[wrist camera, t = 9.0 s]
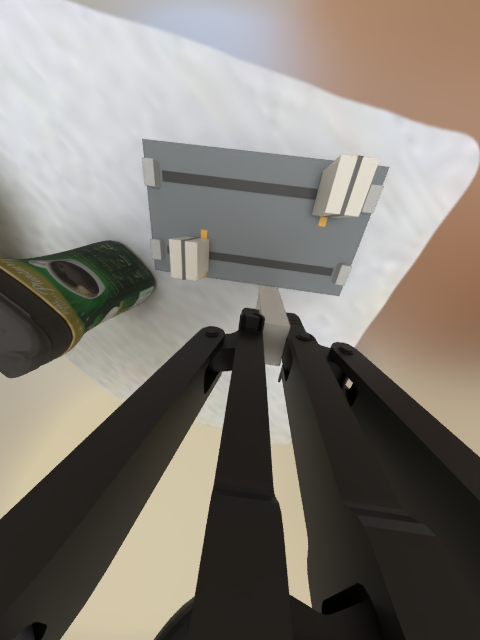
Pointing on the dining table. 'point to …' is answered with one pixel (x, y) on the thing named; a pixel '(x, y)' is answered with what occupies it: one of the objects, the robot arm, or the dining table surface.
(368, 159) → the fader
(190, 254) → the fader
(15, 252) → the dining table surface
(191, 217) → the console
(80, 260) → the coffee jar
